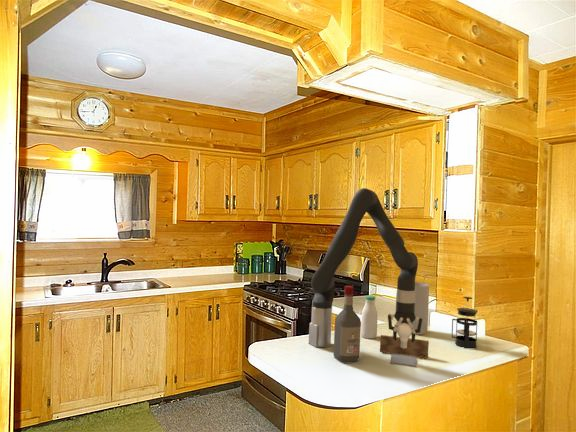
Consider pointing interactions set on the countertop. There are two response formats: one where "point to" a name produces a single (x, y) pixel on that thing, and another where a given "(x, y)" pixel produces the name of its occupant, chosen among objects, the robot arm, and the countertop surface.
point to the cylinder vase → (421, 306)
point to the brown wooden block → (413, 349)
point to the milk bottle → (369, 319)
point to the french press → (466, 327)
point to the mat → (403, 360)
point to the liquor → (347, 331)
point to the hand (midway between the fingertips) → (403, 340)
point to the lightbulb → (404, 334)
